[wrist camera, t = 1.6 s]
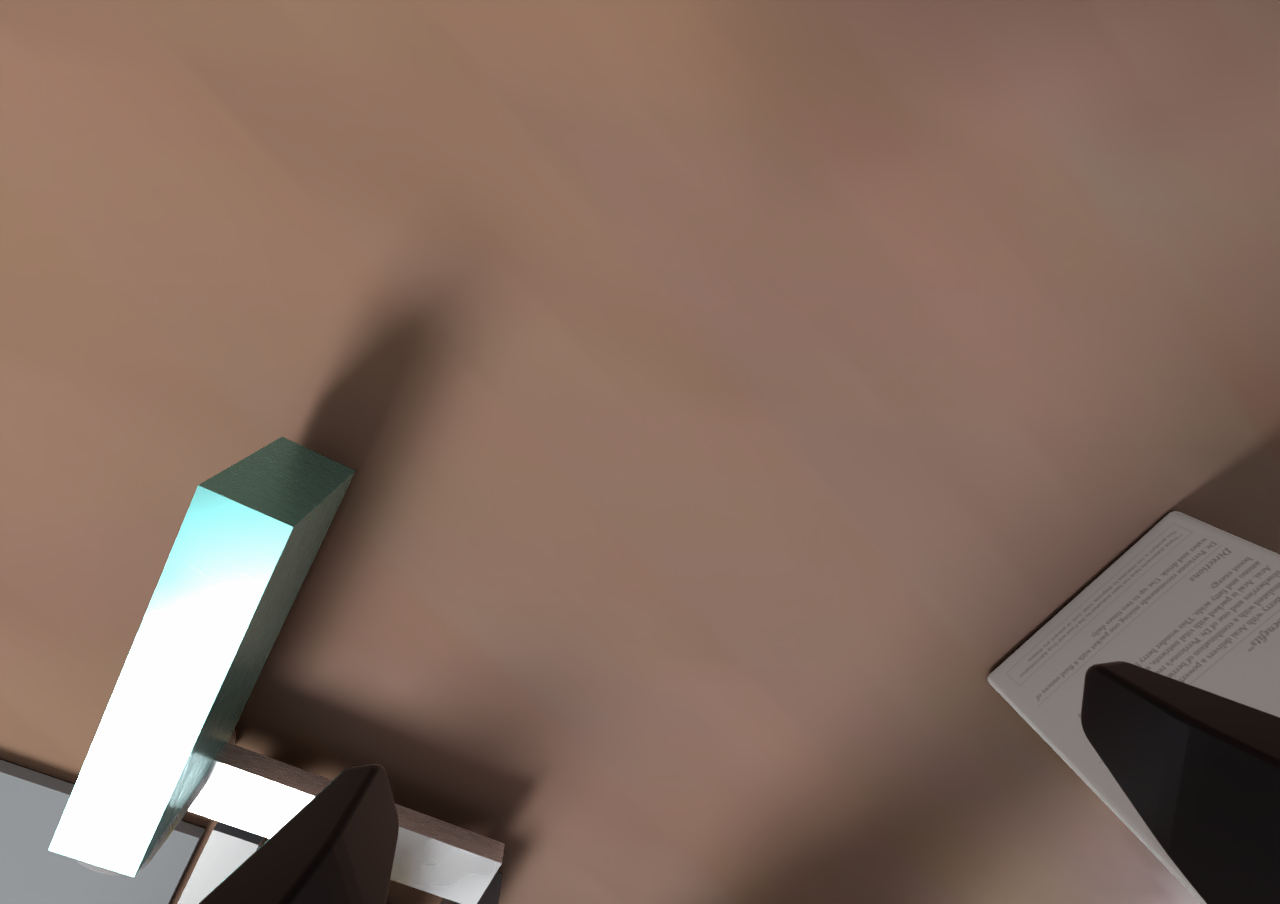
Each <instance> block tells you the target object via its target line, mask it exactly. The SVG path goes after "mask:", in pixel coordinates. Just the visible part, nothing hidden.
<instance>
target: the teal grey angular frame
mask: <svg viewBox="0 0 1280 904" xmlns="http://www.w3.org/2000/svg"><path fill="white" fill-rule="evenodd" d="M354 473H355V470H353V469H350V468H348V467H346V466H344V465H342V464H340V463H338V462H335V461H333V460H331V459H329V458H327V457H325V456H323V455H320V454H318V453H316V452H314V451H312V450H310V449H308V448H305V447H303V446H301V445H299V444H297V443H295V442H293V441H290V440H288V439H286V438H284V437H281V438H279V439H277V440H276V441H274V442H272V443H270V444H269V445H267V446H265V447H263V448H262V449H260V450H258V451H257V452H255V453H253V454H251V455H250V456H248V457H246V458H244V459H243V460H241V461H239V462H238V463H236V464H234V465H232V466H231V467H229V468H227V469H225V470H224V471H222V472H220V473H219V474H217V475H215V476H213V477H212V478H210V479H208V480H206V481H205V482H203V483H201V484H200V485H198V487H197V490H196V492H195V494H194V497H193V499H192V502H191V504H190V507H189V509H188V512H187V514H186V516H185V519H184V521H183V524H182V526H181V529H180V531H179V533H178V536H177V538H176V541H175V543H174V546H173V548H172V550H171V553H170V555H169V558H168V560H167V563H166V565H165V567H164V570H163V572H162V575H161V577H160V580H159V582H158V585H157V587H156V589H155V592H154V594H153V597H152V599H151V602H150V604H149V606H148V609H147V611H146V614H145V616H144V619H143V621H142V623H141V626H140V628H139V631H138V633H137V636H136V638H135V641H134V643H133V645H132V648H131V650H130V653H129V655H128V658H127V660H126V662H125V665H124V667H123V670H122V672H121V675H120V677H119V679H118V682H117V684H116V687H115V689H114V692H113V694H112V696H111V699H110V701H109V704H108V706H107V709H106V711H105V714H104V716H103V718H102V721H101V723H100V726H99V728H98V731H97V733H96V735H95V738H94V740H93V743H92V745H91V748H90V750H89V752H88V755H87V757H86V760H85V762H84V765H83V767H82V769H81V772H80V774H79V777H78V779H77V782H76V784H75V787H74V789H73V791H72V794H71V796H70V799H69V801H68V804H67V806H66V808H65V811H64V813H63V816H62V818H61V821H60V823H59V825H58V828H57V830H56V833H55V835H54V838H53V840H52V843H51V845H50V847H49V851H53V852H56V853H59V854H62V855H65V856H68V857H72V858H73V859H74V860H75V861H77V862H78V863H79V864H80V865H82V866H84V867H85V868H87V869H90V870H92V871H95V872H98V873H101V874H107V875H128V876H132V877H134V876H135V875H136V874H137V872H138V871H139V870H141V869H142V868H144V867H145V866H146V865H148V864H149V863H150V861H151V860H152V859H153V857H154V856H155V855H156V853H157V852H158V851H159V849H160V848H161V847H162V845H163V844H164V842H165V841H166V840H167V838H168V837H169V836H170V834H171V833H172V831H173V830H174V829H175V827H176V826H177V825H178V823H179V822H180V821H181V819H182V818H183V816H184V815H185V814H186V812H187V811H190V812H193V813H196V814H199V815H202V816H205V817H208V818H211V819H214V820H217V821H220V822H222V823H225V824H228V825H231V826H234V827H237V828H240V829H243V830H246V831H249V832H252V833H255V834H258V835H261V836H264V837H266V838H269V839H270V838H271V837H272V836H273V835H274V834H275V833H276V832H277V831H278V830H279V829H281V828H282V827H283V826H284V825H285V824H286V823H287V822H288V821H289V820H290V819H291V818H293V817H294V816H295V815H296V814H297V813H298V812H299V811H300V810H301V809H302V808H304V807H305V806H306V805H307V804H308V803H309V802H310V801H311V800H312V799H313V798H314V797H316V796H317V795H318V794H319V793H320V792H321V791H322V790H323V789H324V788H325V787H327V786H328V785H329V784H330V783H331V782H332V780H330V779H327V778H324V777H321V776H319V775H316V774H313V773H310V772H308V771H305V770H302V769H300V768H297V767H294V766H291V765H289V764H286V763H283V762H280V761H278V760H275V759H272V758H269V757H267V756H264V755H261V754H259V753H256V752H253V751H250V750H248V749H245V748H242V747H239V746H237V745H235V742H236V731H235V726H236V724H237V722H238V720H239V718H240V716H241V714H242V711H243V709H244V707H245V705H246V703H247V701H248V699H249V697H250V694H251V692H252V690H253V688H254V686H255V684H256V682H257V679H258V677H259V675H260V673H261V671H262V669H263V667H264V665H265V662H266V660H267V658H268V656H269V654H270V652H271V650H272V648H273V645H274V643H275V641H276V639H277V637H278V635H279V633H280V631H281V628H282V626H283V624H284V622H285V620H286V618H287V616H288V613H289V611H290V609H291V607H292V605H293V603H294V601H295V599H296V596H297V594H298V592H299V590H300V588H301V586H302V584H303V582H304V579H305V577H306V575H307V573H308V571H309V569H310V567H311V565H312V562H313V560H314V558H315V556H316V554H317V552H318V550H319V548H320V545H321V543H322V541H323V539H324V537H325V535H326V533H327V530H328V528H329V526H330V524H331V522H332V520H333V518H334V516H335V513H336V511H337V509H338V507H339V505H340V503H341V501H342V499H343V496H344V494H345V492H346V490H347V488H348V486H349V484H350V482H351V479H352V477H353V475H354ZM395 806H396V810H397V814H398V820H399V831H398V839H397V845H396V850H395V856H394V861H393V867H392V872H391V878H390V880H393V881H396V882H398V883H401V884H404V885H407V886H410V887H413V888H416V889H419V890H422V891H425V892H428V893H431V894H434V895H437V896H440V897H442V898H445V899H448V900H451V901H454V902H457V903H460V904H477V903H478V901H479V899H480V898H481V896H482V895H483V893H484V891H485V890H486V888H487V887H488V885H489V883H490V882H491V880H492V879H493V877H494V875H495V874H496V872H497V870H498V869H499V867H500V866H501V864H502V859H503V852H504V846H505V843H502V842H499V841H496V840H494V839H491V838H488V837H485V836H483V835H480V834H477V833H474V832H472V831H469V830H466V829H464V828H461V827H458V826H455V825H453V824H450V823H447V822H444V821H442V820H439V819H436V818H433V817H431V816H428V815H425V814H423V813H420V812H417V811H414V810H412V809H409V808H406V807H403V806H401V805H398V804H395Z"/></svg>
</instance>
